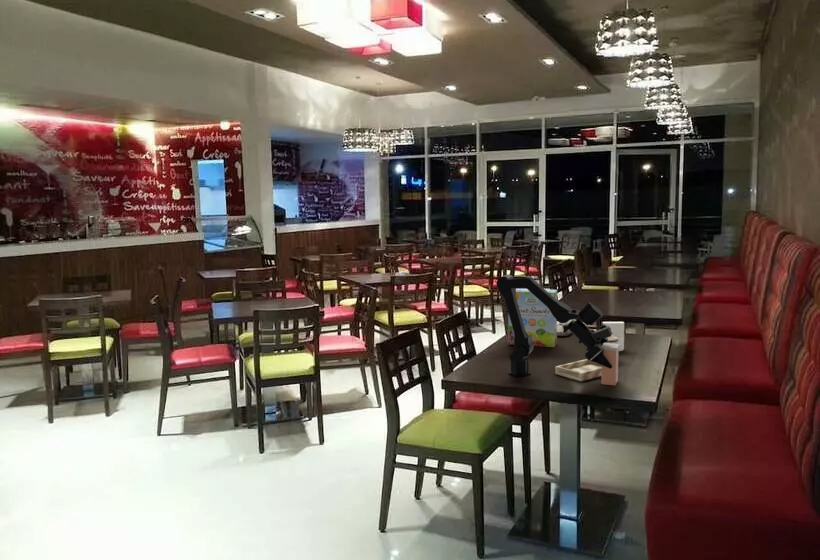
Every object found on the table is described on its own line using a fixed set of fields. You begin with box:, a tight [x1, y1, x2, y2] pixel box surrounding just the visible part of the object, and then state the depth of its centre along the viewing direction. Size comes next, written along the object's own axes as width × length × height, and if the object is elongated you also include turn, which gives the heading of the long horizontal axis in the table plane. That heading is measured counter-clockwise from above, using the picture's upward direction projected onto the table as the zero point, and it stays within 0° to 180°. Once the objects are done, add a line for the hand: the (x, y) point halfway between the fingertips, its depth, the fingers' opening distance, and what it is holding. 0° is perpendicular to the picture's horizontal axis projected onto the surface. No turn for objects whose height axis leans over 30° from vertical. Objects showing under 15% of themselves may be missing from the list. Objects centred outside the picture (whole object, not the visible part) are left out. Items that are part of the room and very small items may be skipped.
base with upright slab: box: [602, 321, 625, 352], centre depth 297 cm, size 9×9×12 cm
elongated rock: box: [557, 318, 577, 337], centre depth 339 cm, size 35×5×10 cm
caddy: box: [601, 343, 620, 386], centre depth 247 cm, size 6×7×14 cm
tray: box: [554, 358, 602, 382], centre depth 261 cm, size 20×13×3 cm, turn 124°
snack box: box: [507, 288, 558, 348], centre depth 309 cm, size 22×9×26 cm, turn 72°
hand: (613, 364), depth 246 cm, fingers open, 9 cm apart
